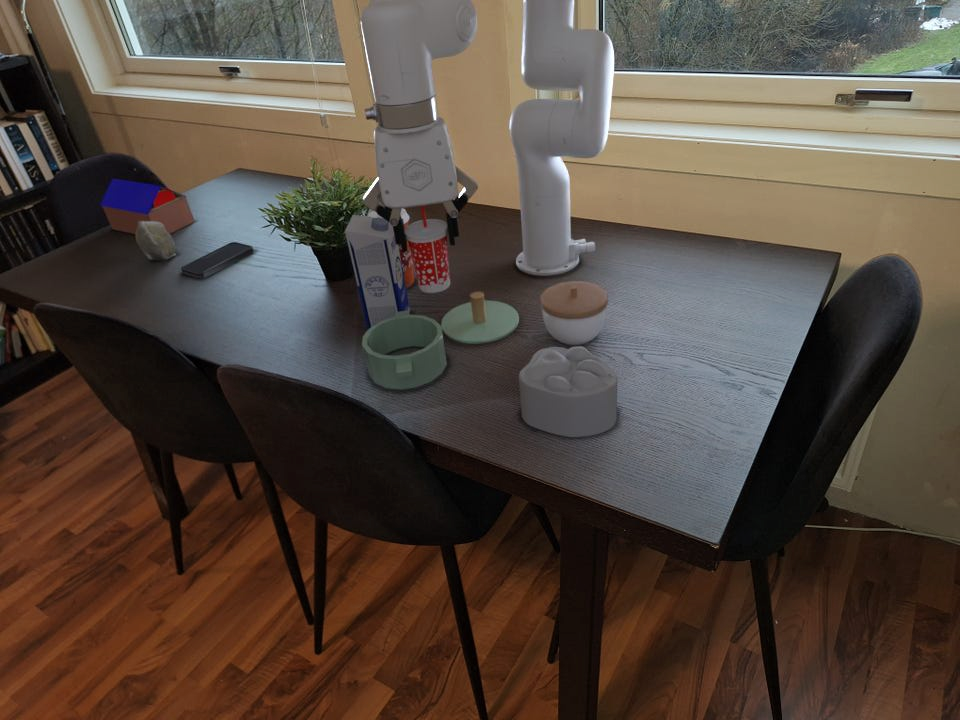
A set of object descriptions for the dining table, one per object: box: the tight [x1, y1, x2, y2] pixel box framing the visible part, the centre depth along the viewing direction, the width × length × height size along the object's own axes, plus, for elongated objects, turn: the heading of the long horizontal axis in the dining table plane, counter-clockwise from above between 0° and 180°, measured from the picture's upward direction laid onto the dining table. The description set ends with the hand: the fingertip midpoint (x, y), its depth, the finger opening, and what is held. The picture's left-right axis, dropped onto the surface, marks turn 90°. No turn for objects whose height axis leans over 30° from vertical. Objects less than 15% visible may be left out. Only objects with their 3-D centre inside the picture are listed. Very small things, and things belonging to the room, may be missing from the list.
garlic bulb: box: [134, 221, 177, 262], centre depth 152 cm, size 9×8×10 cm
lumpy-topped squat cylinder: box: [518, 345, 618, 438], centre depth 91 cm, size 10×13×9 cm
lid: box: [440, 291, 520, 345], centre depth 114 cm, size 14×14×6 cm
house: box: [99, 178, 196, 235], centre depth 169 cm, size 12×20×12 cm, turn 59°
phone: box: [180, 241, 254, 279], centre depth 148 cm, size 8×1×15 cm
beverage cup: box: [404, 205, 451, 294], centre depth 92 cm, size 6×6×14 cm
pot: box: [361, 310, 448, 390], centre depth 105 cm, size 13×18×6 cm
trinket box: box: [540, 280, 609, 346], centre depth 107 cm, size 11×11×9 cm
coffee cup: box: [367, 208, 415, 288], centre depth 127 cm, size 8×8×15 cm
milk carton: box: [344, 214, 411, 330], centre depth 113 cm, size 7×7×20 cm
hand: (428, 243), depth 92 cm, fingers closed on beverage cup, 6 cm apart
